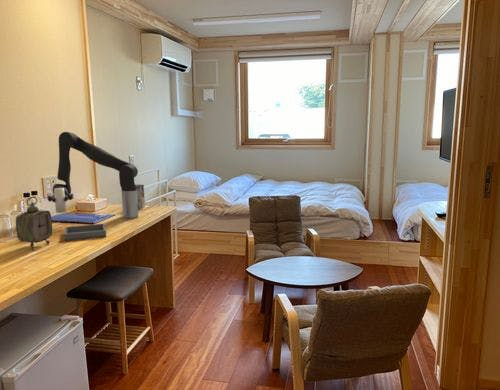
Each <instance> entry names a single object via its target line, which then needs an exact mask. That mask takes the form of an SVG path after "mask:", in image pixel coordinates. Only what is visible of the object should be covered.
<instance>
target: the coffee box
mask: <svg viewBox="0 0 500 390" xmlns="http://www.w3.org/2000/svg"><path fill="white" fill-rule="evenodd" d="M135 185H136V186H137V202H138V211H141V210H143V209H144V208H145V207H146V205H145V204H146V203H145V200H146V199H145V185H144V184H135Z"/></svg>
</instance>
